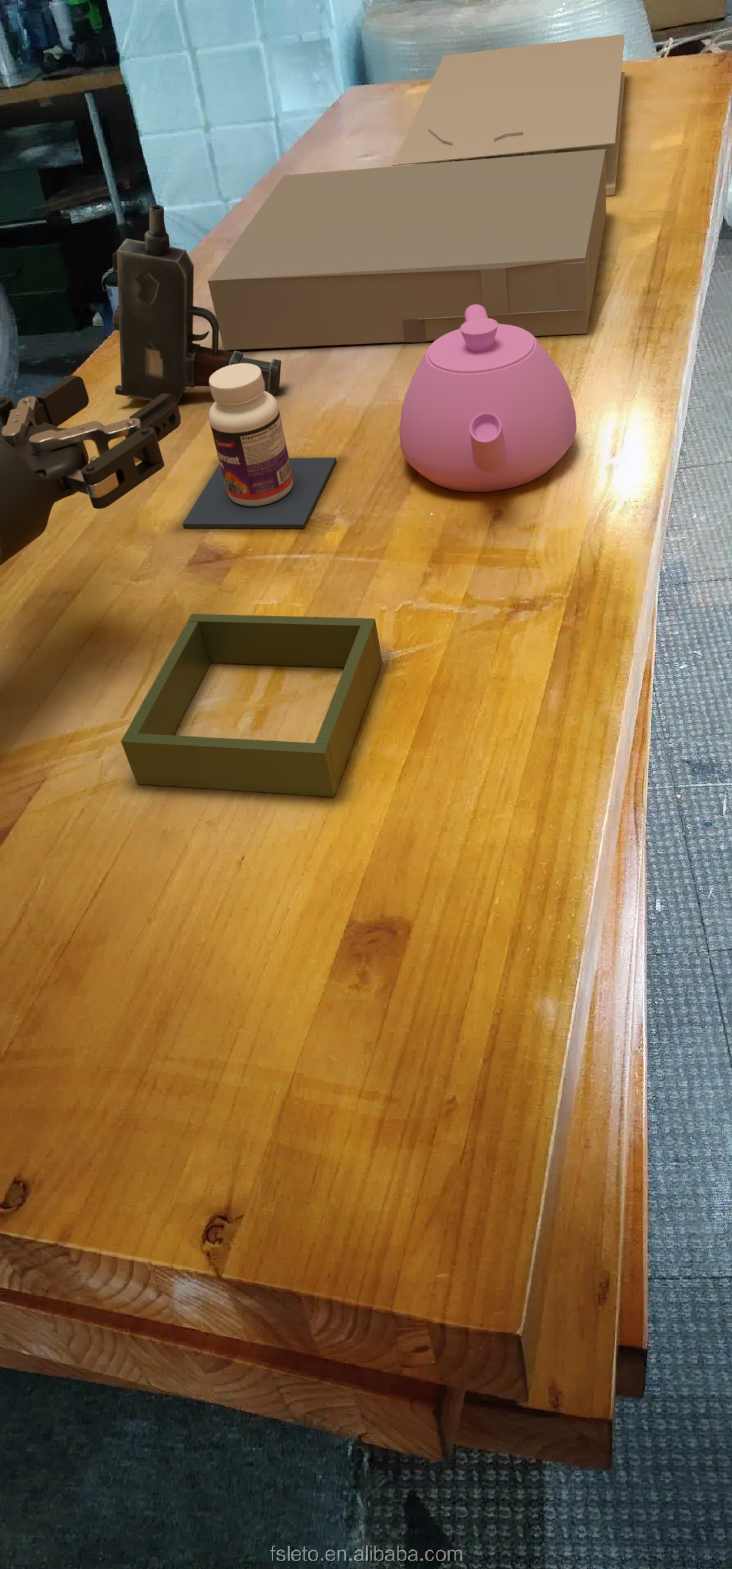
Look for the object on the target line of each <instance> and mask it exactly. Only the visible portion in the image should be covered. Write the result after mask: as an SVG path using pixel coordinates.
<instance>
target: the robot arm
mask: <svg viewBox="0 0 732 1569" xmlns="http://www.w3.org/2000/svg"><path fill="white" fill-rule="evenodd" d="M89 403H90V397H89V394H88V391H87V388H86V385H85V382H84V379H83V378H82V376H78V375H74V374H70V375H68V376H66V377H65V378H64V379H62V380H61V381H59V382H57V383H55V385H53V386H51V387H50V388H48V389H47V390H46V391H44V392H42V393H41V394H39V395H38V396H37V397H35V396H32V395H30V396H25V397H22V398H21V399H19V400H18V402H16V403H13V400H12V398H11V397H10V396H1V397H0V423H1V425H2V428H1V429H0V567H1V566H2V565H3V564H4V563H6V562H7V561H9V560H10V559H11V558H13V557H14V556H16V555H17V554H18V553H20V552H21V551H22V550H23V549H24V548H26V547H27V546H29V545H30V544H31V543H33V542H34V541H35V540H37V539H38V538H39V537H40V536H42V535H43V534H44V532H45V531H46V529H47V527H48V524H49V519H50V515H51V512H52V509H53V507H54V505H55V503H58V502H59V501H61V500H63V499H66V498H68V497H71V496H74V495H75V494H77V493H81V494H84V495H87V496H89V500H90V503H91V506H92V507H93V509H96V510H101V509H106V508H108V507H110V506H111V505H112V504H113V503H115V502H117V501H118V500H119V499H121V498H123V497H124V496H125V495H127V494H128V493H129V492H131V491H132V490H133V489H135V488H136V487H138V486H139V485H141V484H142V483H143V482H145V481H146V480H149V478H150V477H152V476H154V475H155V474H156V473H158V472H159V471H161V470H162V469H163V468H164V467H165V462H164V458H163V454H162V451H161V447H160V444H159V443H160V442H161V441H162V440H164V438H166V437H167V436H169V435H170V434H171V433H173V432H174V431H175V430H177V429H178V428H179V426H180V425H181V424H182V422H181V421H182V416H181V413H180V408H179V405H178V404H177V401H176V398H175V396H174V395H170V394H165V393H163V394H161V395H159V396H158V397H157V398H155V399H154V400H152V401H149V402H148V403H147V404H145V405H144V406H142V407H141V408H140V409H138V410H137V411H135V412H134V413H133V414H131V415H130V416H129V418H127V419H124V420H120V421H116V422H112V423H110V424H105V425H104V424H102V423H101V422H100V421H98V420H93V421H89V422H86V423H81V424H78V425H76V426H75V425H74V426H71V427H60V426H61V425H62V424H63V423H65V422H67V421H68V420H70V419H71V418H73V417H74V416H75V415H77V414H78V413H80V412H81V411H82V410H84V409H85V408H86V407H88V405H89ZM121 437H122V438H123V437H124V439H123V440H121V441H120V442H119V443H117V444H115V445H114V446H112V447H111V448H110V446H109V443H110V442H111V441H112V440H116V439H119V438H121ZM85 441H92V442H93V443H94V444H95V447H96V451H97V453H98V457H97V456H91V457H90V456H89V453H88V451H87V448H86V445H85Z"/></svg>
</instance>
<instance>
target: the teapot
mask: <svg viewBox="0 0 732 1569" xmlns="http://www.w3.org/2000/svg"><path fill="white" fill-rule="evenodd" d="M576 413H577V412H576V408H575V404H574V401H573V397H572V393H571V391H570V387H569V385H568V383H567V381H566V379H565V377H564V375H563V373H562V372H561V370H560V369H559V367H558V365H557V363H556V362H555V361H554V359H553V358H552V357H551V355H550V354H549V353H548V351H547V349H545V347H544V346H543V345H542V343H541V342H540V341H539V340H538V339H537V338H536V336H533V335H532V334H531V333H529V332H528V331H526V330H524V329H522V328H519V327H516V326H512V325H506V324H498V323H497V321H495V320H493V319H490V318H488V317H487V313H486V310H485V308H484V307H483V306H481V305H478V304H475V305H471V306H469V307H468V308H467V309H466V311H465V323H463V324H462V325H461V327H460V329H458V330H455V331H452V332H449V333H447V334H445V335H443V336H441V337H440V338H438V339H437V340H433V342H432V343H431V344H430V345H429V346H428V348H427V349H426V351H425V352H424V354H423V356H422V358H421V359H420V361H419V363H418V365H417V367H416V370H415V371H414V374H413V376H412V377H411V380H410V382H409V385H408V388H407V390H406V393H405V395H404V399H403V403H402V406H401V413H400V421H399V431H398V432H399V444H400V450H401V452H402V455H403V456H404V458H405V460H406V461H407V463H408V464H409V466H411V467H412V468H413V469H414V470H415V471H417V472H418V473H419V474H420V475H421V476H423V477H424V478H426V479H427V480H428V481H429V482H431V483H433V484H435V485H437V486H439V487H441V488H442V487H443V488H445V489H447V490H453V491H458V492H468V493H469V492H470V493H485V492H494V491H495V492H496V491H502V490H508V489H511V488H515V487H518V486H519V487H520V486H522V485H525V484H527V483H531V482H532V481H534V480H536V479H538V478H540V477H541V476H543V475H544V474H546V473H547V472H549V471H550V470H551V469H552V468H553V467H554V466H555V465H556V463H558V462H559V461H560V460H561V459H562V457H563V456H564V455H565V454H566V453H567V451H568V450H569V448H570V447H571V446H572V443H573V441H574V439H575V436H576V434H577V418H576V417H577V414H576Z"/></svg>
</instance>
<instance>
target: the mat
mask: <svg viewBox="0 0 732 1569" xmlns="http://www.w3.org/2000/svg"><path fill="white" fill-rule="evenodd" d="M289 461H290V465H291V470H292V476H293V486H292V489H291V490H290V491H289V493H288V494H287V495H285V496H284V497H283V498H281V499H279V500H277V501H275V502H273V503H270V504H266V505H262V506H244V505H240V504H237V503H235V502H234V501H232V500H231V499H230V497H229V495H228V493H227V490H226V486H225V482H224V478H223V474H222V470H221V466H220V463H219V464H218V465H217V467H216V469H215V470H214V472H213V473H212V475H211V477H209V478H210V479H208V482H207V483H206V485H205V487H204V488H203V490H202V492H201V493H200V494H199V496H198V498H197V499H196V501H195V503H194V504H193V506H192V508H191V509H190V511H189V513H188V514H187V515H186V517H185V519H184V521H183V522H182V527H183V528H184V529H305V528H306V526H307V523H308V521H309V519H310V517H311V515H312V513H313V511H314V510H315V507H316V505H317V503H318V502H319V499H320V497H321V495H322V492H323V491H324V488H325V487H326V484H327V482H328V480H329V478H330V476H331V475H332V472H333V470H334V468H335V466H336V465H337V457H289Z"/></svg>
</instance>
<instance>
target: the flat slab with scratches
mask: <svg viewBox="0 0 732 1569" xmlns="http://www.w3.org/2000/svg"><path fill="white" fill-rule="evenodd" d="M625 37H626V34H625V33H622V34H614V35H612V34H611V35H605V36H597V37H596V36H595V37H589V38H580V39H579V38H578V39H572V40H564V41H556V42H554V41H553V42H546V43H537V44H529V45H522V46H521V45H519V46H513V47H505V48H497V49H495V48H494V49H488V50H487V49H486V50H479V51H471V52H462V53H455V54H446V55H443V57H442V59H441V61H440V62H439V63H440V64H439V66H438V67H437V70H436V72H435V74H434V76H433V78H432V80H431V83H430V85H429V87H428V88H427V91H426V94H425V95H424V97H423V98H422V101H421V104H420V106H419V108H418V109H417V112H416V114H415V116H414V119H413V121H412V123H411V125H410V127H409V128H408V131H407V133H406V136H405V138H404V139H403V142H402V143H401V146H400V147H399V150H398V152H397V154H396V157H395V159H394V161H393V163H392V164H391V167H392V166H404V165H417V164H429V163H441V162H453V161H466V160H478V159H490V158H502V157H514V156H527V155H539V154H551V153H563V152H576V151H588V150H600V149H606V197H608V196H615V195H616V188H617V186H616V185H617V175H618V165H619V164H618V162H619V150H620V141H621V140H620V139H621V128H622V127H621V126H622V117H623V116H622V115H623V103H624V91H625V82H626V80H625V79H626V78H625V77H626V72H625V71H622V70H623V59H624V49H625Z"/></svg>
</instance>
